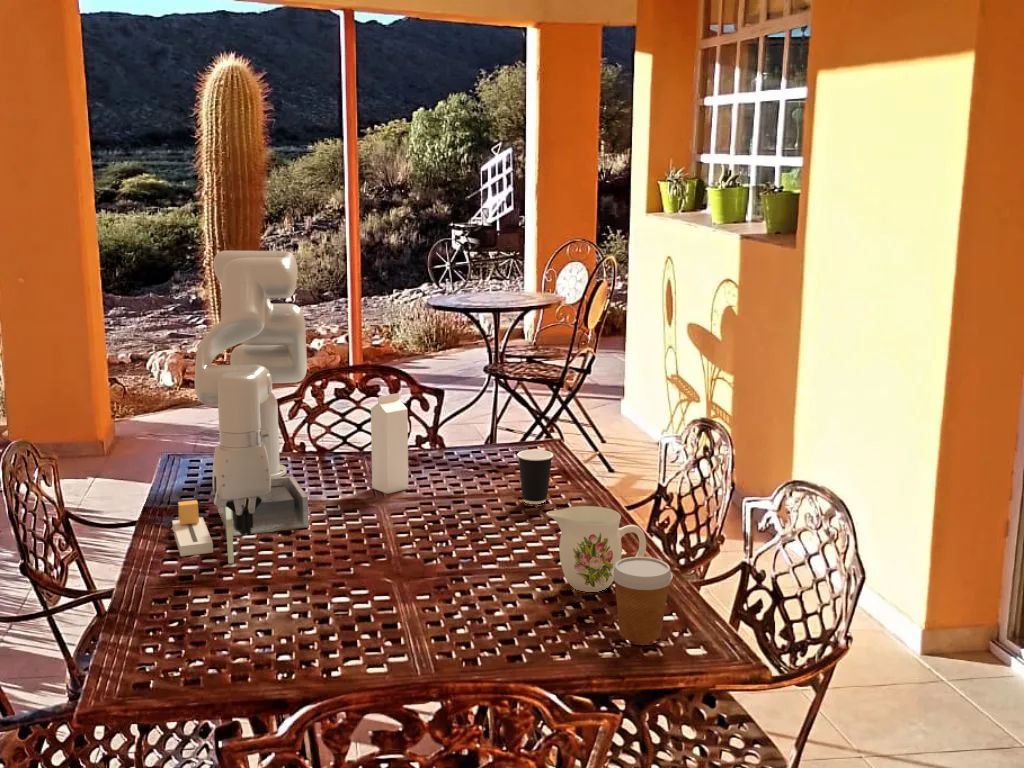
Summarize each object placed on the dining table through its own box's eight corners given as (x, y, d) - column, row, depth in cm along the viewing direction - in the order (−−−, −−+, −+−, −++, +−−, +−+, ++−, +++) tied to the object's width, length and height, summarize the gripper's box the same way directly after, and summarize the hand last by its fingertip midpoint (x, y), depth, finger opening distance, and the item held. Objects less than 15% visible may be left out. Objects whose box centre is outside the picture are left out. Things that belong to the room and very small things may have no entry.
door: (232, 535, 216) (231, 500, 215) (235, 563, 201) (233, 526, 200) (225, 535, 216) (223, 501, 214) (227, 563, 201) (225, 526, 200)
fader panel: (172, 529, 220) (172, 520, 219) (203, 526, 222) (202, 516, 222) (180, 556, 205) (180, 545, 205) (213, 552, 208) (212, 541, 207)
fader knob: (179, 521, 218) (178, 502, 217) (197, 519, 219) (196, 500, 219) (180, 524, 216) (179, 505, 215) (198, 522, 217) (198, 503, 217)
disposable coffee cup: (597, 637, 172) (599, 565, 170) (635, 620, 179) (637, 551, 176) (644, 657, 165) (647, 582, 163) (682, 638, 172) (685, 566, 170)
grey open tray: (218, 512, 231) (216, 483, 229) (293, 504, 237) (292, 475, 235) (228, 536, 216) (227, 505, 215) (308, 527, 222) (307, 496, 221)
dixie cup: (559, 503, 239) (560, 455, 237) (531, 510, 234) (531, 461, 232) (537, 494, 245) (538, 447, 243) (509, 500, 241) (509, 452, 239)
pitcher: (652, 595, 189) (654, 520, 186) (549, 599, 187) (551, 523, 184) (637, 572, 199) (639, 500, 197) (540, 576, 197) (541, 503, 194)
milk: (408, 489, 249) (408, 395, 244) (387, 494, 245) (386, 398, 240) (392, 483, 253) (392, 390, 249) (371, 488, 249) (370, 394, 245)
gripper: (273, 430, 209) (276, 521, 212) (194, 438, 202) (199, 533, 205) (285, 438, 203) (288, 532, 206) (205, 447, 195) (210, 544, 199)
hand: (244, 532), depth 205 cm, fingers closed
